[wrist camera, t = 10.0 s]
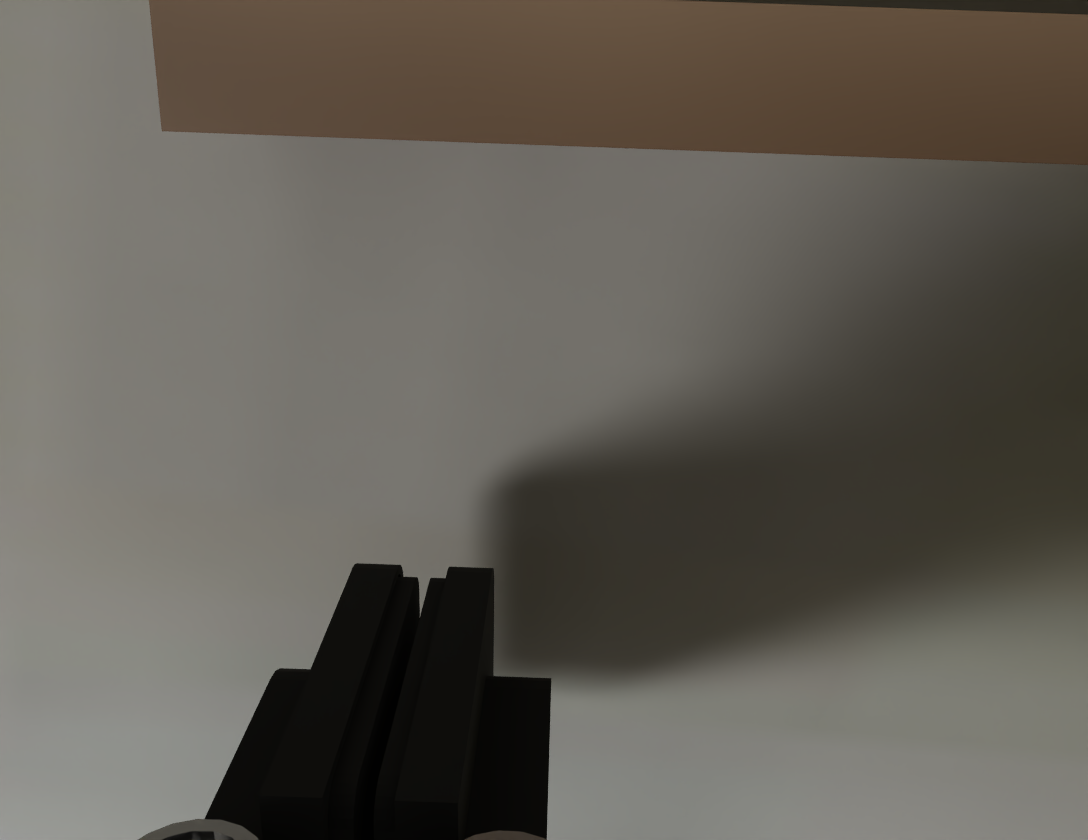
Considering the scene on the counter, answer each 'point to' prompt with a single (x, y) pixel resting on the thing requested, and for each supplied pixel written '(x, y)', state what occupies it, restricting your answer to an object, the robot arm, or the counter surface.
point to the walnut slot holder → (632, 75)
